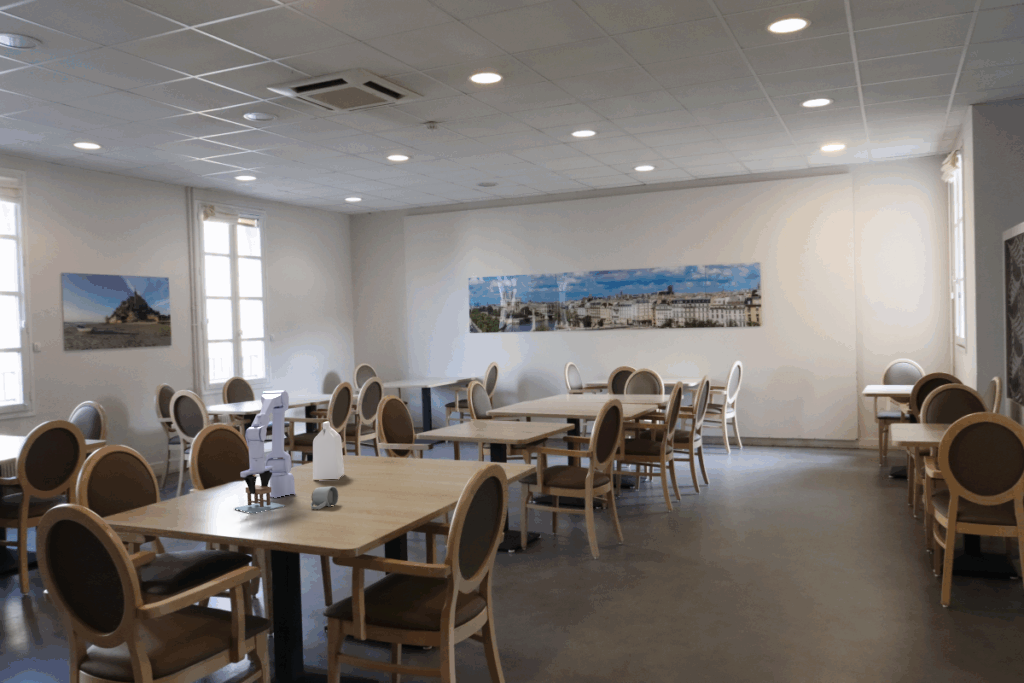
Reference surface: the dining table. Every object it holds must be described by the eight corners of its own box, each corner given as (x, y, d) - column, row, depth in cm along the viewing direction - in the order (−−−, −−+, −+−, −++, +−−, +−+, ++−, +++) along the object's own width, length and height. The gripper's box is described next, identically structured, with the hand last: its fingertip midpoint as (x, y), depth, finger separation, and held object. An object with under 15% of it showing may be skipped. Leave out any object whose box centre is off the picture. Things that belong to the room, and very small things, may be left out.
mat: (266, 502, 308) (266, 501, 308) (285, 506, 299) (285, 505, 299) (233, 509, 298) (233, 508, 298) (251, 514, 289) (251, 512, 289)
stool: (271, 504, 298) (271, 487, 298) (261, 507, 294) (260, 489, 294) (256, 502, 303) (256, 485, 303) (246, 505, 299) (245, 487, 299)
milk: (320, 475, 363) (317, 421, 363) (344, 474, 363) (341, 420, 362) (312, 480, 351) (310, 424, 351) (337, 479, 351) (334, 423, 350)
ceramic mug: (321, 503, 302) (320, 484, 302) (339, 504, 299) (338, 484, 299) (305, 510, 292) (304, 490, 292) (323, 511, 290) (322, 490, 289)
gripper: (265, 454, 306) (267, 487, 307) (234, 460, 294) (236, 495, 295) (277, 455, 303) (278, 489, 303) (246, 461, 290) (248, 496, 291)
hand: (258, 492), depth 298 cm, fingers closed on stool, 5 cm apart
